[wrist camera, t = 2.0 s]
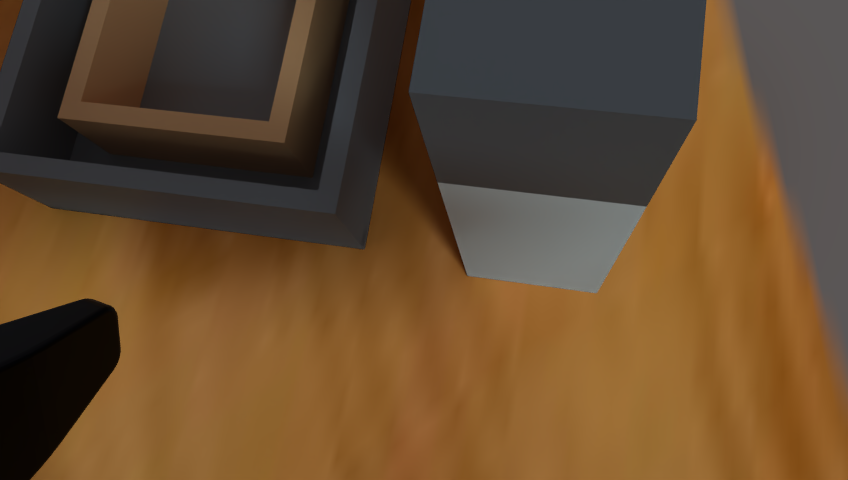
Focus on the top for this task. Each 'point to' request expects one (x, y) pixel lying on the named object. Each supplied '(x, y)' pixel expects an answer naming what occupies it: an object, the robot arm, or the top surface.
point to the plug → (553, 125)
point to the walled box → (204, 111)
